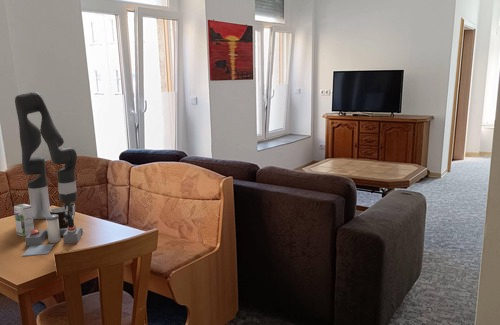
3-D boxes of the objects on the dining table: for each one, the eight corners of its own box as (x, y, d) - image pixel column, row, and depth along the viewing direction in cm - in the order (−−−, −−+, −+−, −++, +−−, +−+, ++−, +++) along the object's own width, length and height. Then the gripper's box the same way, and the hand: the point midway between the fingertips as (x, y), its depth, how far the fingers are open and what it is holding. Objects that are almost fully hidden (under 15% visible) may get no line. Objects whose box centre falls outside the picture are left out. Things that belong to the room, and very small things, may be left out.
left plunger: (32, 238, 183) (31, 229, 182) (41, 237, 183) (40, 228, 182) (30, 241, 179) (29, 232, 178) (38, 240, 180) (37, 231, 179)
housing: (34, 236, 188) (33, 228, 187) (82, 232, 192) (82, 225, 192) (26, 246, 177) (25, 237, 176) (77, 241, 181) (77, 233, 181)
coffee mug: (65, 224, 204) (63, 205, 202) (73, 227, 199) (71, 209, 197) (42, 230, 195) (40, 211, 193) (50, 234, 190) (48, 215, 188)
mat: (30, 246, 176) (30, 245, 176) (54, 244, 179) (54, 243, 178) (22, 256, 167) (22, 255, 167) (47, 254, 169) (47, 253, 169)
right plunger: (69, 233, 186) (68, 225, 185) (77, 233, 186) (76, 224, 185) (67, 236, 182) (66, 228, 181) (75, 236, 183) (74, 227, 182)
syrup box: (16, 234, 190) (12, 206, 187) (28, 230, 195) (24, 203, 192) (23, 237, 187) (20, 208, 184) (35, 232, 193) (31, 204, 190)
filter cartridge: (50, 238, 185) (47, 214, 183) (62, 237, 186) (59, 214, 184) (46, 243, 180) (43, 218, 177) (59, 242, 181) (56, 217, 179)
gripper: (62, 187, 185) (66, 222, 189) (55, 195, 173) (59, 232, 176) (79, 186, 187) (82, 221, 190) (73, 194, 174) (76, 231, 178)
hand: (71, 226), depth 183 cm, fingers closed
